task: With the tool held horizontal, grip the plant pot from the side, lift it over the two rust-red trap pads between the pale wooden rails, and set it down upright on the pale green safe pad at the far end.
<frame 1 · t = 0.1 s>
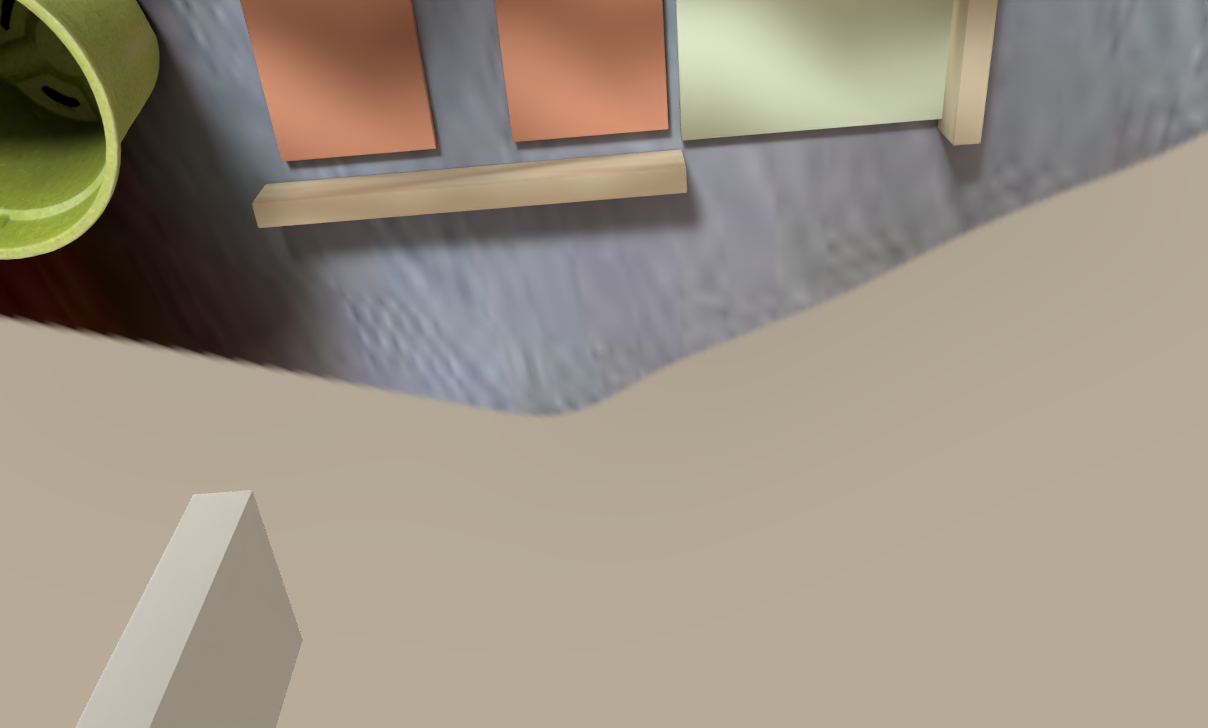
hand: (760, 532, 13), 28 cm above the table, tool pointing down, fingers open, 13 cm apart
plant pot: (78, 40, 37), on the table
trap box: (277, 24, 37), on the table
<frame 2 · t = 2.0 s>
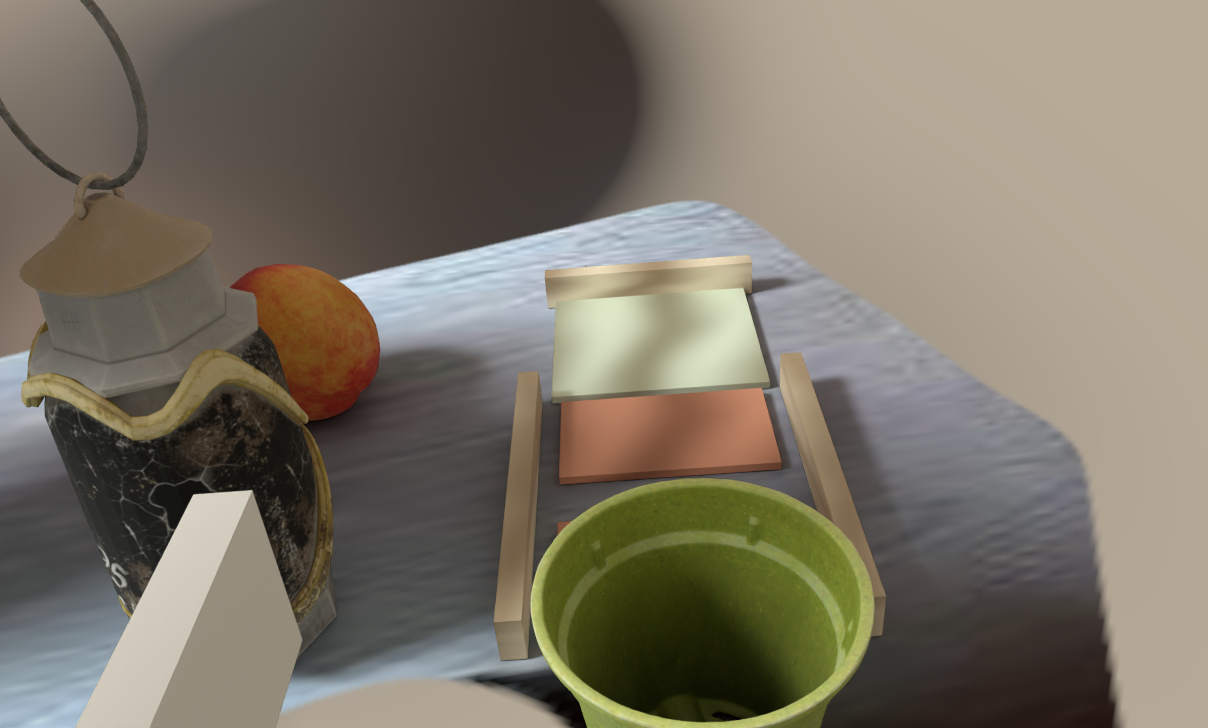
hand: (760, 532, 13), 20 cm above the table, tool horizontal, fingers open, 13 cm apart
fruit: (315, 408, 53), on the table
lantern: (256, 621, 40), on the table
trap box: (685, 607, 39), on the table
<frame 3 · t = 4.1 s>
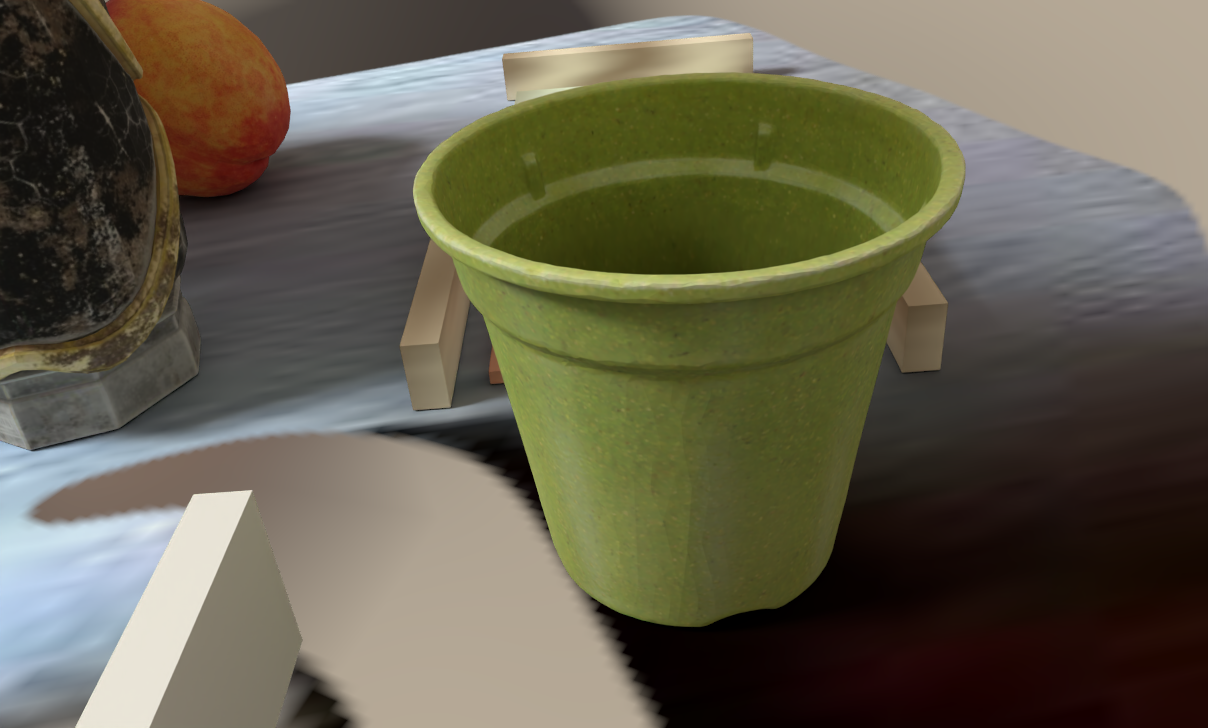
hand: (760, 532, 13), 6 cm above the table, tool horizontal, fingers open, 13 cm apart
plant pot: (696, 536, 22), on the table
fruit: (213, 192, 43), on the table
lantern: (91, 384, 30), on the table
trap box: (669, 350, 28), on the table
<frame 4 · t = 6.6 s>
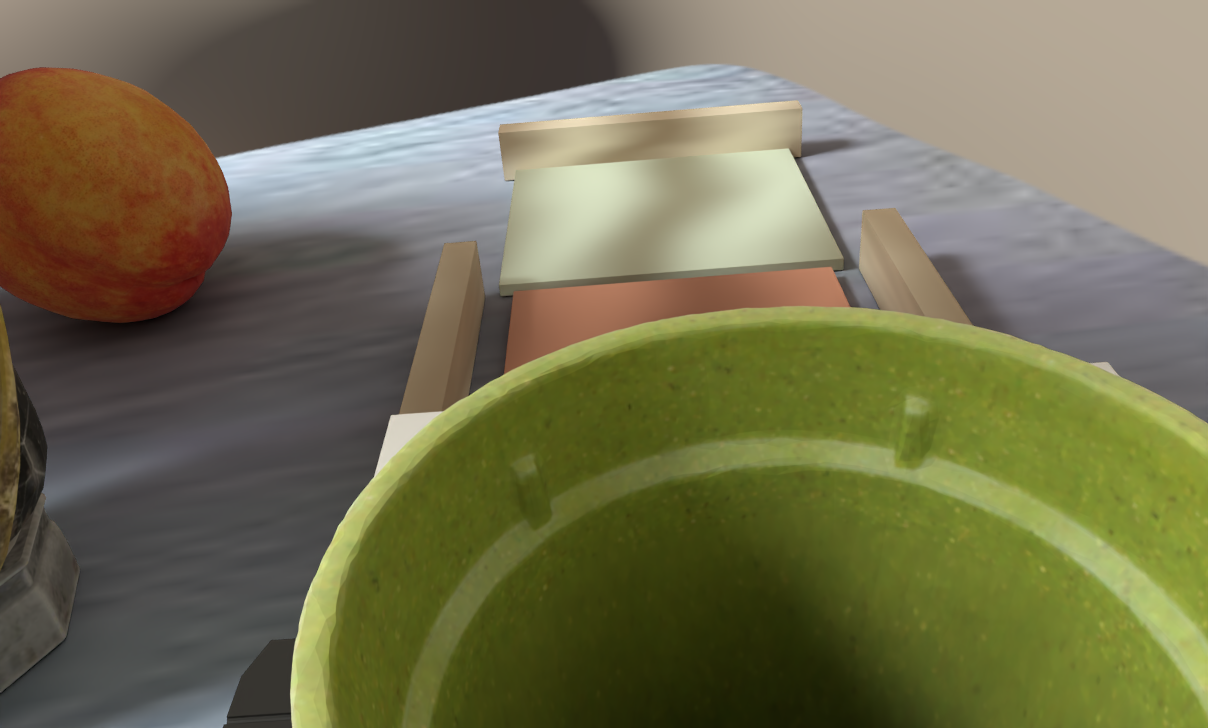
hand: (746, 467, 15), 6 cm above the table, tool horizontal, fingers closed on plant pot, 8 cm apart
fruit: (137, 310, 34), on the table
trap box: (726, 620, 20), on the table
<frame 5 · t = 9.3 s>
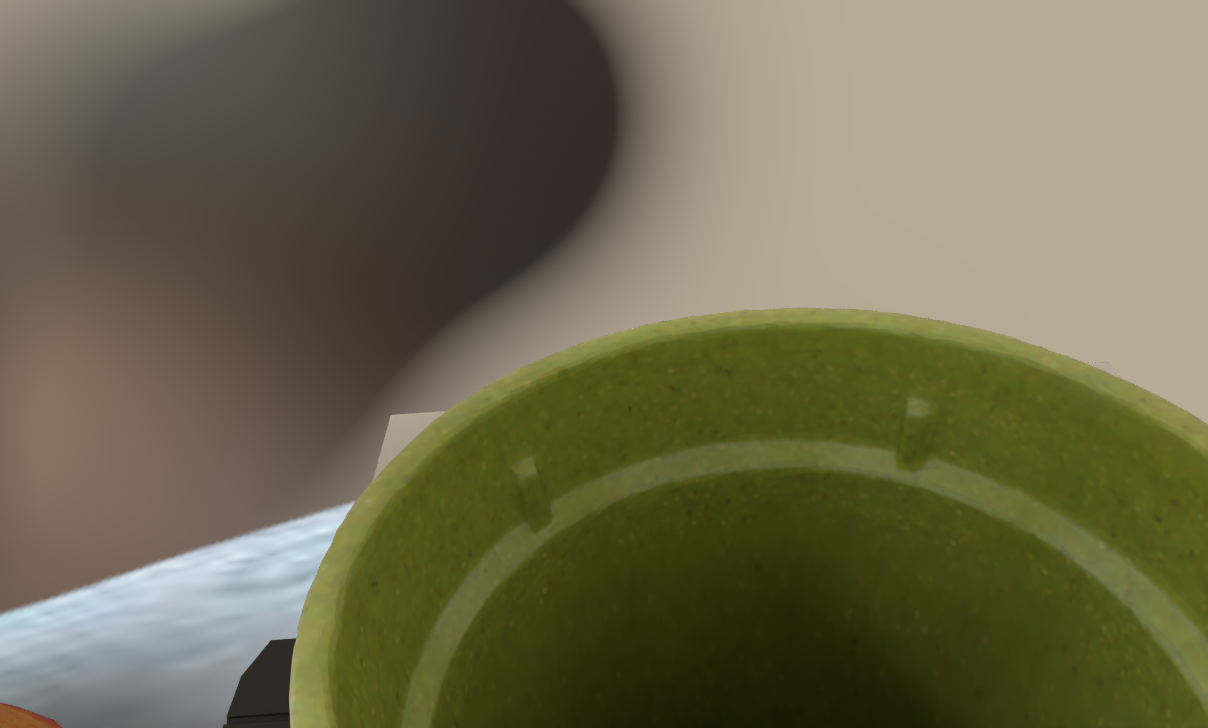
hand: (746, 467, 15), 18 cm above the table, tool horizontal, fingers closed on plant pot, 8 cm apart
when the fingers open (8 cm above the table, at t = 12.5 s): plant pot drops 1 cm, resting on trap box.
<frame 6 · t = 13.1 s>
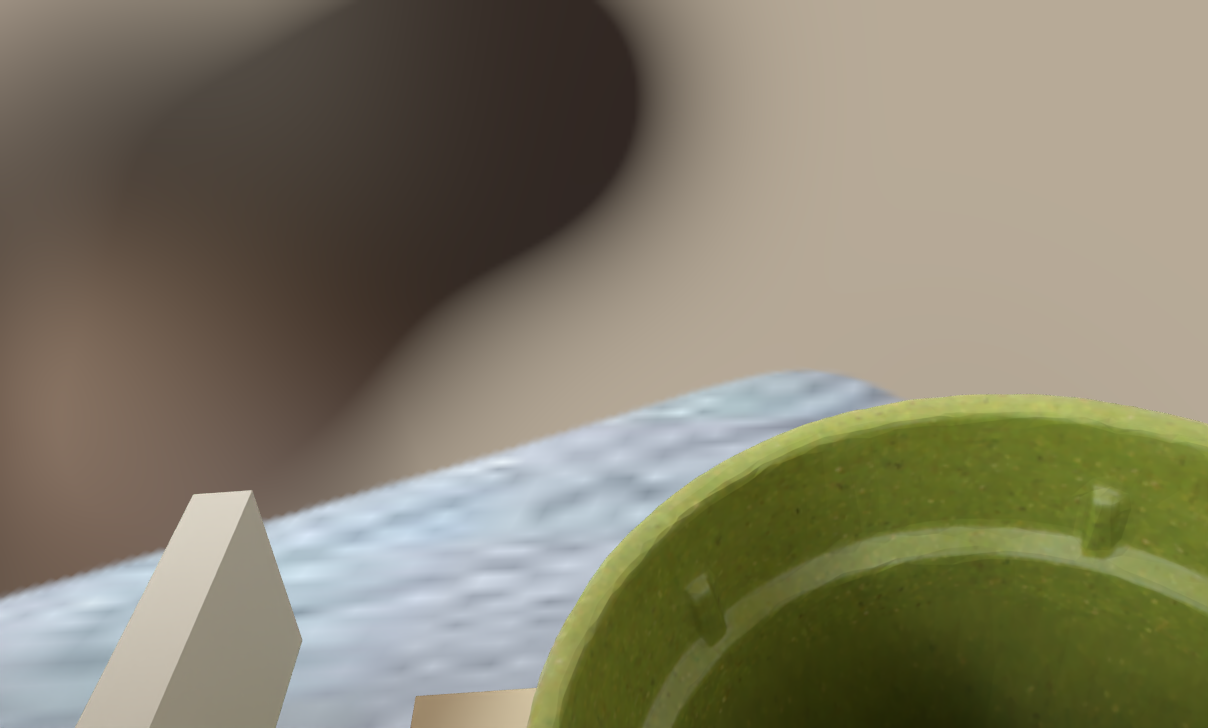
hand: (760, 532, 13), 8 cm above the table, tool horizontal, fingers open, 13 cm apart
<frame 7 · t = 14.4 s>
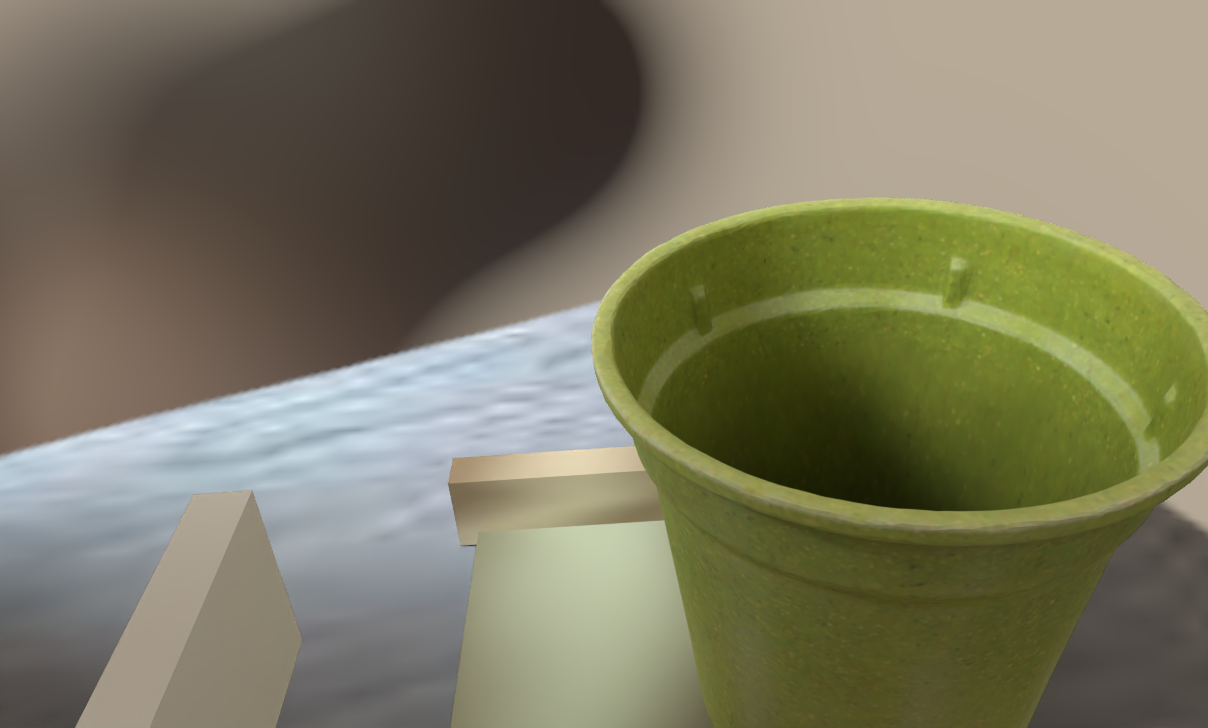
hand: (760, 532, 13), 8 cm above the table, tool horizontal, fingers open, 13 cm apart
plant pot: (858, 701, 20), resting on trap box
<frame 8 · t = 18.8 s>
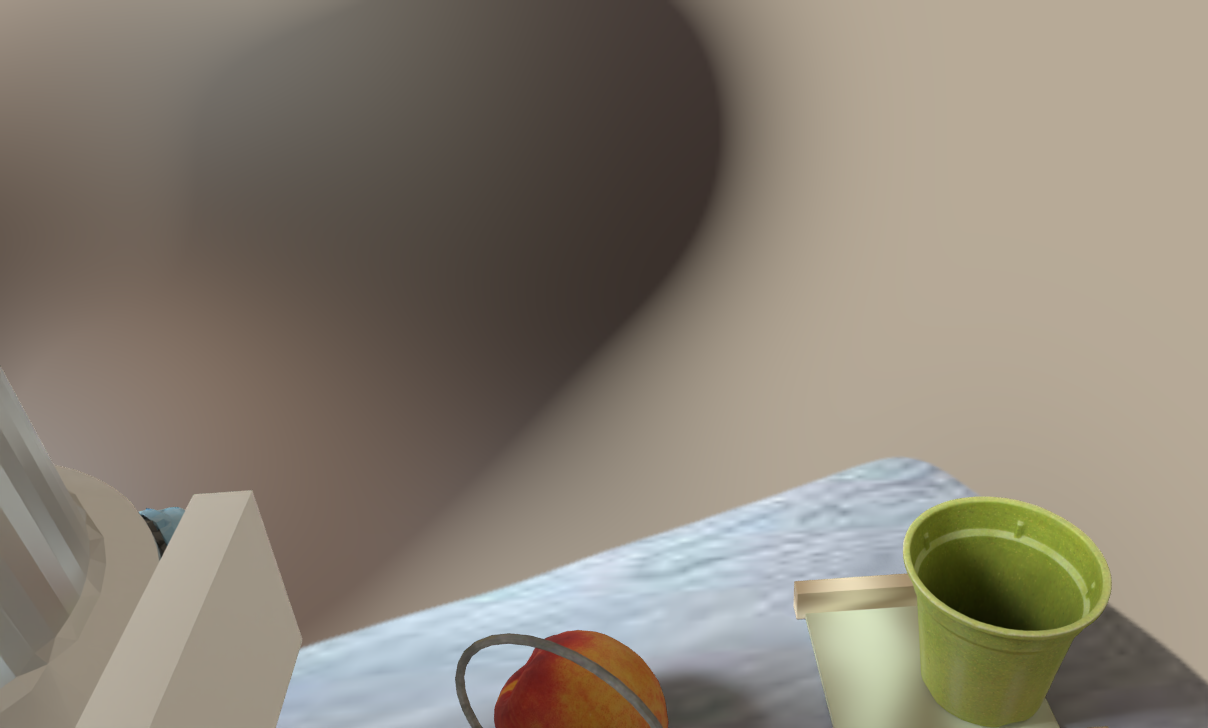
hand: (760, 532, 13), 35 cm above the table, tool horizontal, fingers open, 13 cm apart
plant pot: (982, 684, 53), resting on trap box
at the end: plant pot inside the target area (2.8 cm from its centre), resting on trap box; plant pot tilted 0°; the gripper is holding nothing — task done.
